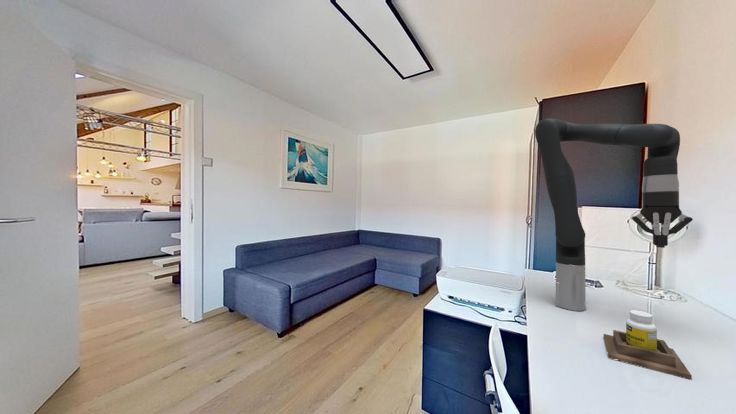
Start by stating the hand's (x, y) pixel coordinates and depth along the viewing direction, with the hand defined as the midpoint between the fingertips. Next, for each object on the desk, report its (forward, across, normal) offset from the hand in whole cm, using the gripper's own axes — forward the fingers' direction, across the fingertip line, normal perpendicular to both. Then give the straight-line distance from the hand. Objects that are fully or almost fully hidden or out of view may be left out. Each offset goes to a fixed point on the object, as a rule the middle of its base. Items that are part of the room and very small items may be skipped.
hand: (660, 247), depth 80 cm
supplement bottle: (+26, -7, -19) cm, 33 cm away
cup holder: (+27, -7, -19) cm, 34 cm away
